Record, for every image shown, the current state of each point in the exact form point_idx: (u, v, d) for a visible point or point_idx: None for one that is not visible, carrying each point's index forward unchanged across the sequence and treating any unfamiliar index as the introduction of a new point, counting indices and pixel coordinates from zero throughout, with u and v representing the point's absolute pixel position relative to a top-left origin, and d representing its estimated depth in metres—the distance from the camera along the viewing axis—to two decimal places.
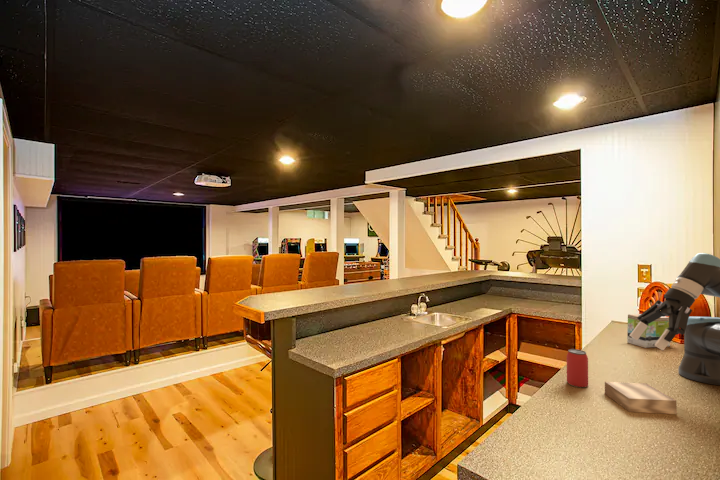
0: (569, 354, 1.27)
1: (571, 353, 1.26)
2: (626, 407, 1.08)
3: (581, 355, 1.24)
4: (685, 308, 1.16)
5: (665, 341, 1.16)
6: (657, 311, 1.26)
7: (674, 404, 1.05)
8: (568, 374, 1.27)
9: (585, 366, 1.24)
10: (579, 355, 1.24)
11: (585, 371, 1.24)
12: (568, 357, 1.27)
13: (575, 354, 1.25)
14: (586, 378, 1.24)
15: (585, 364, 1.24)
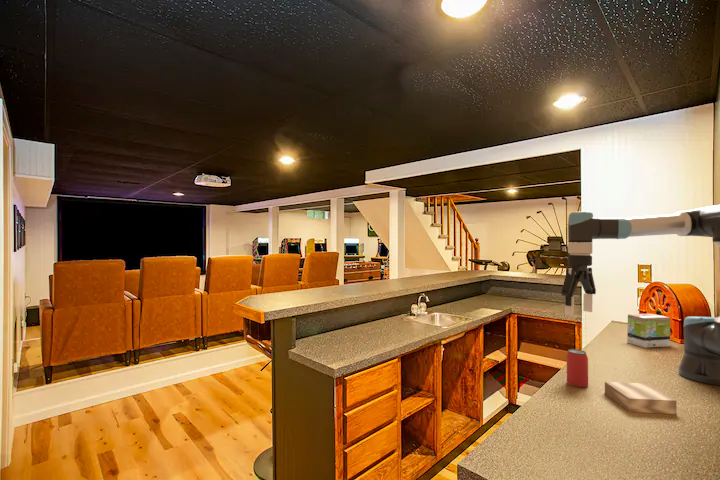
0: (569, 354, 1.27)
1: (571, 353, 1.26)
2: (626, 407, 1.08)
3: (581, 355, 1.24)
4: (567, 270, 1.24)
5: (569, 306, 1.23)
6: None
7: (674, 404, 1.05)
8: (568, 374, 1.27)
9: (585, 366, 1.24)
10: (579, 355, 1.24)
11: (585, 371, 1.24)
12: (568, 357, 1.27)
13: (575, 354, 1.25)
14: (586, 378, 1.24)
15: (585, 364, 1.24)
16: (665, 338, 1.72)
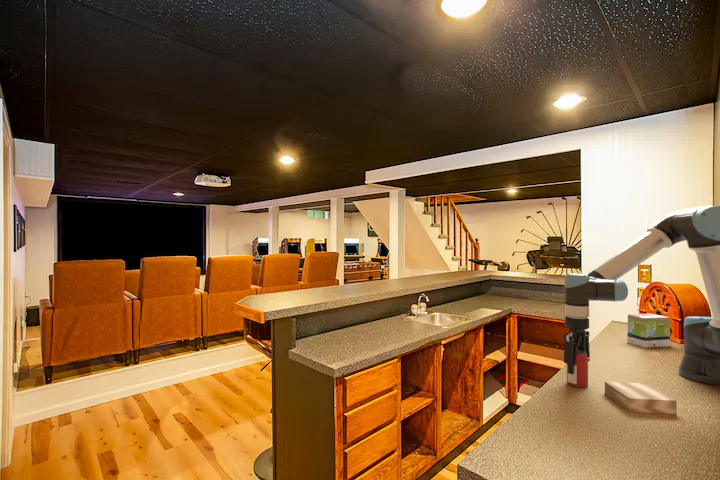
0: None
1: None
2: (626, 407, 1.08)
3: (581, 355, 1.24)
4: (565, 338, 1.24)
5: (572, 374, 1.25)
6: None
7: (674, 404, 1.05)
8: None
9: (585, 366, 1.24)
10: (579, 355, 1.25)
11: (585, 371, 1.24)
12: None
13: None
14: (586, 378, 1.24)
15: (585, 364, 1.24)
16: (665, 338, 1.72)
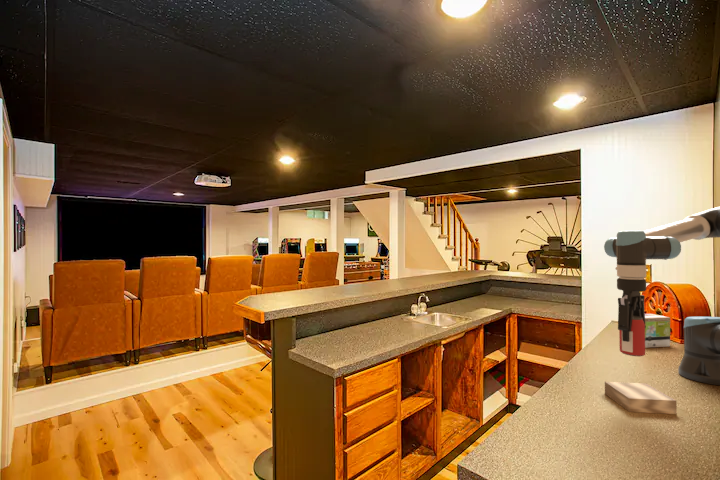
0: None
1: None
2: (626, 407, 1.08)
3: (637, 320, 1.11)
4: (619, 301, 1.11)
5: (627, 342, 1.11)
6: None
7: (674, 404, 1.05)
8: None
9: (642, 332, 1.11)
10: (635, 320, 1.11)
11: (642, 338, 1.11)
12: None
13: None
14: (643, 346, 1.11)
15: (642, 330, 1.11)
16: (665, 338, 1.72)
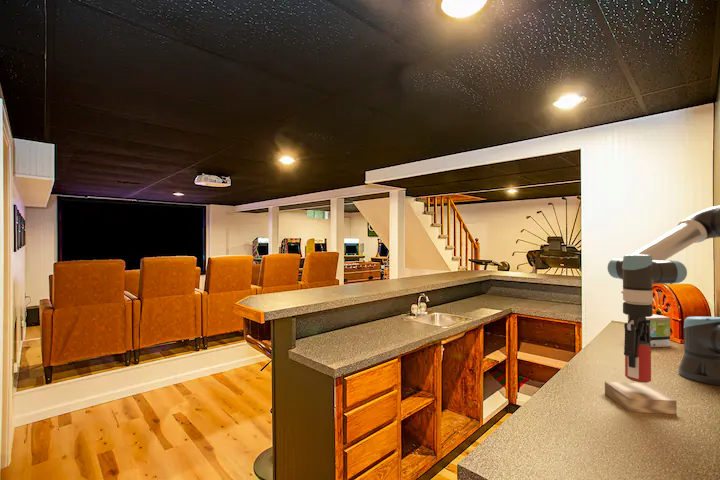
0: None
1: None
2: (626, 407, 1.08)
3: (644, 346, 1.10)
4: (625, 326, 1.09)
5: (633, 368, 1.10)
6: None
7: (674, 404, 1.05)
8: (627, 367, 1.12)
9: (648, 358, 1.09)
10: (641, 346, 1.10)
11: (648, 364, 1.09)
12: None
13: None
14: (649, 372, 1.09)
15: (648, 356, 1.09)
16: (665, 338, 1.72)
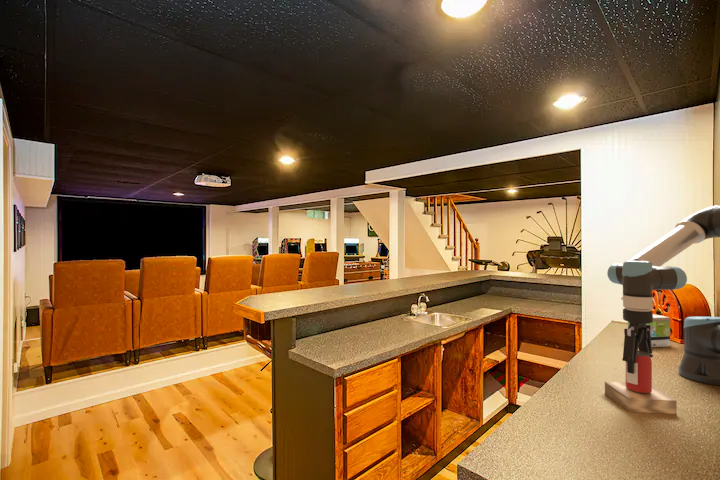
0: None
1: None
2: (626, 407, 1.08)
3: (644, 357, 1.10)
4: (625, 332, 1.09)
5: (632, 374, 1.09)
6: None
7: (674, 404, 1.05)
8: None
9: (649, 369, 1.09)
10: (642, 357, 1.10)
11: (649, 375, 1.09)
12: None
13: (637, 355, 1.10)
14: (650, 383, 1.09)
15: (649, 367, 1.09)
16: (665, 338, 1.72)
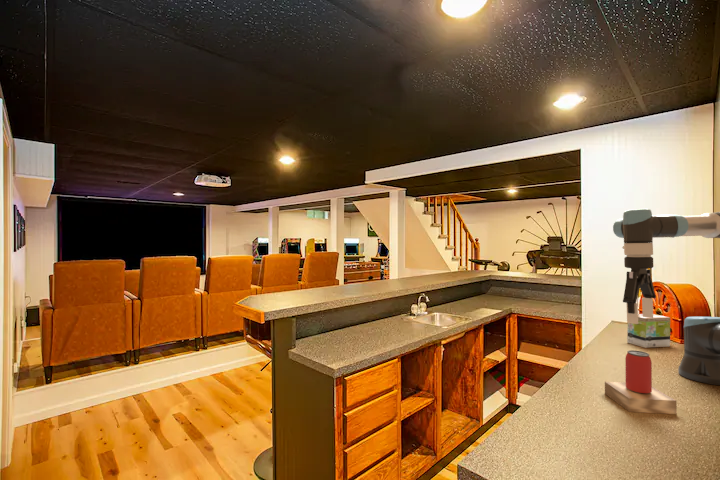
0: (629, 356, 1.12)
1: (632, 355, 1.11)
2: (626, 407, 1.08)
3: (644, 357, 1.10)
4: (628, 274, 1.13)
5: (632, 314, 1.12)
6: None
7: (674, 404, 1.05)
8: (628, 379, 1.12)
9: (649, 370, 1.09)
10: (642, 357, 1.10)
11: (649, 375, 1.09)
12: (628, 359, 1.12)
13: (637, 356, 1.10)
14: (650, 383, 1.09)
15: (649, 367, 1.09)
16: (665, 338, 1.72)
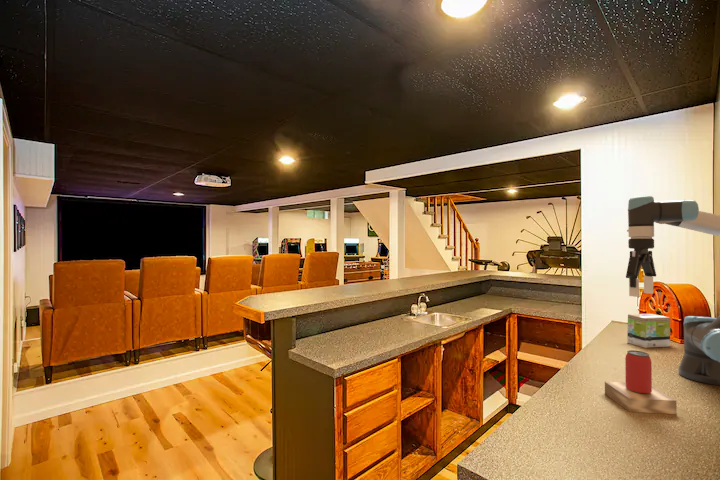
0: (629, 356, 1.12)
1: (632, 355, 1.11)
2: (626, 407, 1.08)
3: (644, 357, 1.10)
4: (631, 253, 1.28)
5: (634, 288, 1.27)
6: None
7: (674, 404, 1.05)
8: (628, 379, 1.12)
9: (649, 370, 1.09)
10: (642, 357, 1.10)
11: (649, 375, 1.09)
12: (628, 359, 1.12)
13: (637, 356, 1.10)
14: (650, 383, 1.09)
15: (649, 367, 1.09)
16: (665, 338, 1.72)
